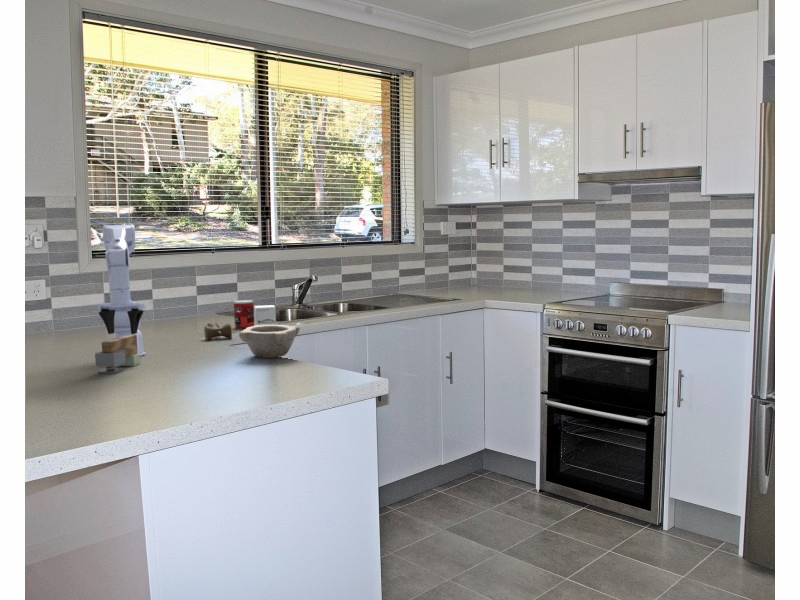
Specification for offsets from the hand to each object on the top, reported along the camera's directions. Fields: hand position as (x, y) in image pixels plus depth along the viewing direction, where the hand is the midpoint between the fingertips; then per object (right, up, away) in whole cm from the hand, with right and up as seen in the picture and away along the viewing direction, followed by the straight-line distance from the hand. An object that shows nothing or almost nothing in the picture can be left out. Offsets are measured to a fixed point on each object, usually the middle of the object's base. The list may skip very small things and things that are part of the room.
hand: (122, 333), depth 216 cm
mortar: (+42, -8, +14) cm, 46 cm away
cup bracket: (-2, -11, -5) cm, 12 cm away
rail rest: (0, -10, +5) cm, 11 cm away
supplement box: (+35, -5, +46) cm, 58 cm away
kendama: (+14, -5, +55) cm, 57 cm away
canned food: (+20, -1, +80) cm, 82 cm away
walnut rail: (-1, -7, 0) cm, 7 cm away
